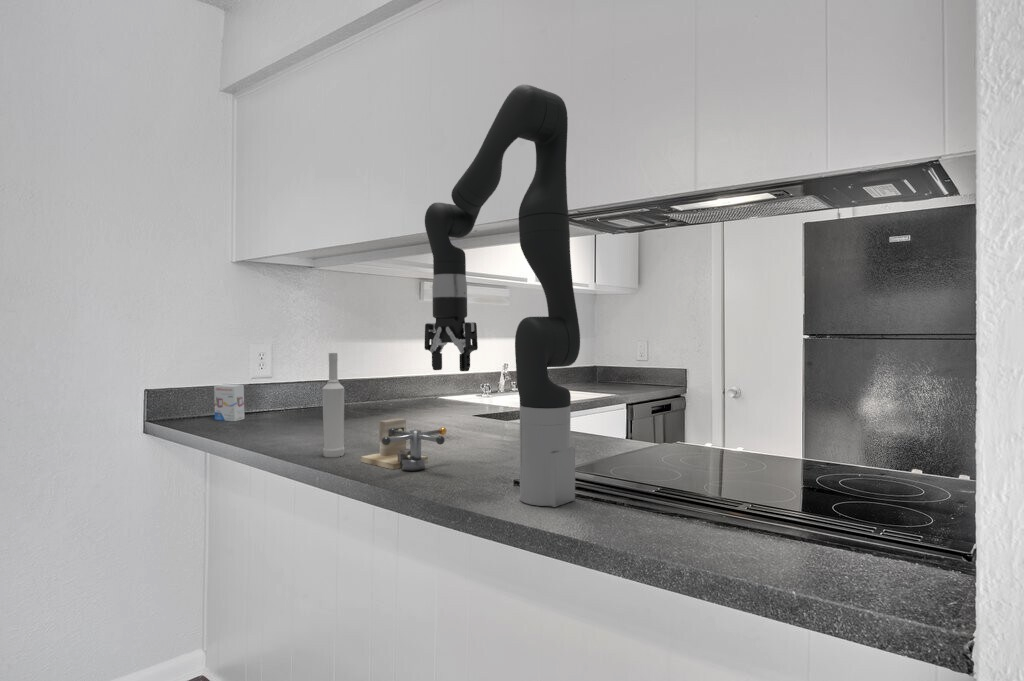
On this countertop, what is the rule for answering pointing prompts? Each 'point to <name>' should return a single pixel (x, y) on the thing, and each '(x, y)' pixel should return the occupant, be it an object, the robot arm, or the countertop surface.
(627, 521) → the countertop surface
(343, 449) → the bottle
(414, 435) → the grey cross handle
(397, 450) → the stand
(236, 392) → the ink box
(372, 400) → the countertop surface
